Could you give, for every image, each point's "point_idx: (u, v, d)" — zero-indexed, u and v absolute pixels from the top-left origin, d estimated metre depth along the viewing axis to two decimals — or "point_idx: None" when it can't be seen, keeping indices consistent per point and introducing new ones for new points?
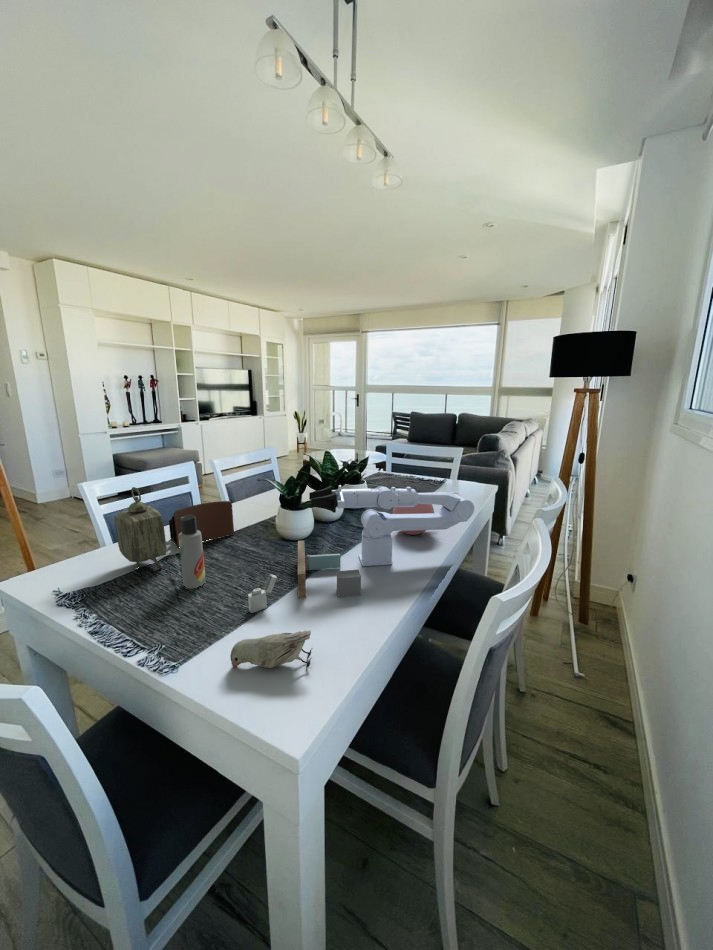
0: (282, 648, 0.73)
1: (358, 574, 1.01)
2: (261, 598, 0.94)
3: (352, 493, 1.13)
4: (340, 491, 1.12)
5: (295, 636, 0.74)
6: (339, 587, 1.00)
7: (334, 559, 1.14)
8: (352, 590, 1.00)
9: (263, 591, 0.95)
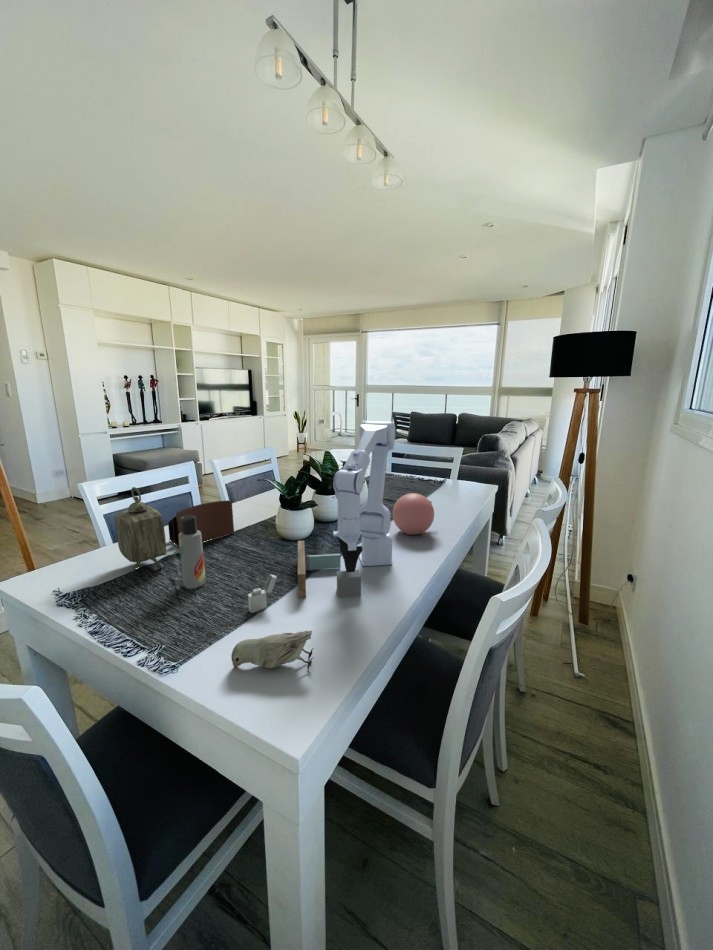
0: (283, 649, 0.73)
1: (358, 574, 1.01)
2: (261, 598, 0.94)
3: (341, 523, 0.96)
4: (339, 536, 0.97)
5: (296, 636, 0.74)
6: (339, 587, 1.00)
7: (334, 559, 1.14)
8: (352, 590, 1.00)
9: (263, 591, 0.95)
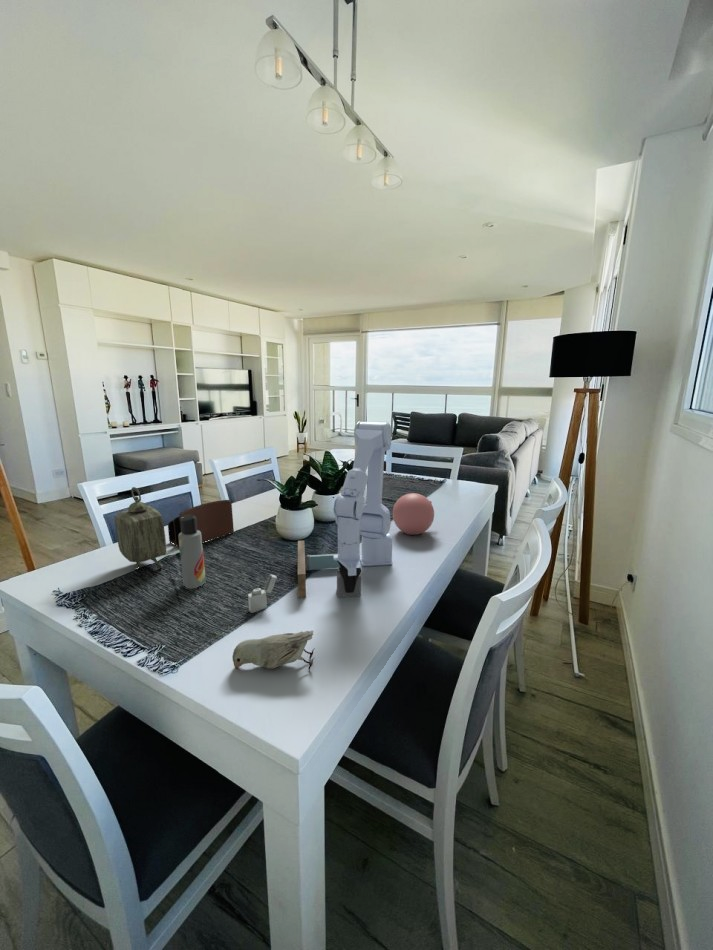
0: (284, 649, 0.73)
1: None
2: (261, 598, 0.94)
3: (342, 548, 0.97)
4: (339, 560, 0.98)
5: (297, 636, 0.74)
6: (339, 587, 1.00)
7: None
8: None
9: (263, 591, 0.95)
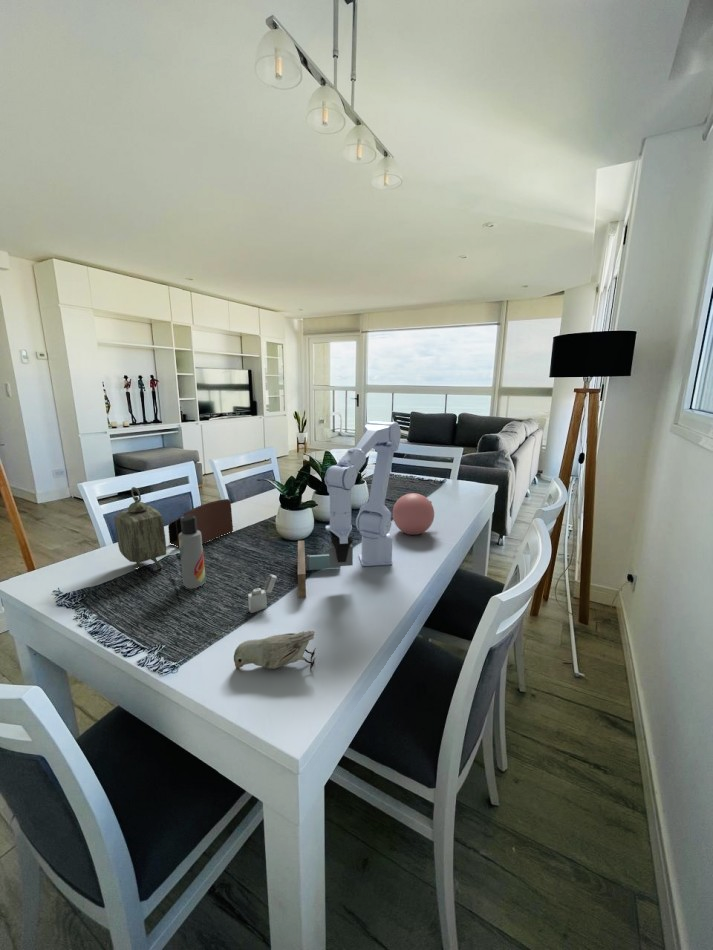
0: (286, 649, 0.72)
1: None
2: (261, 598, 0.94)
3: (333, 517, 0.99)
4: (331, 530, 1.00)
5: (299, 636, 0.74)
6: (331, 557, 1.01)
7: None
8: None
9: (263, 591, 0.95)
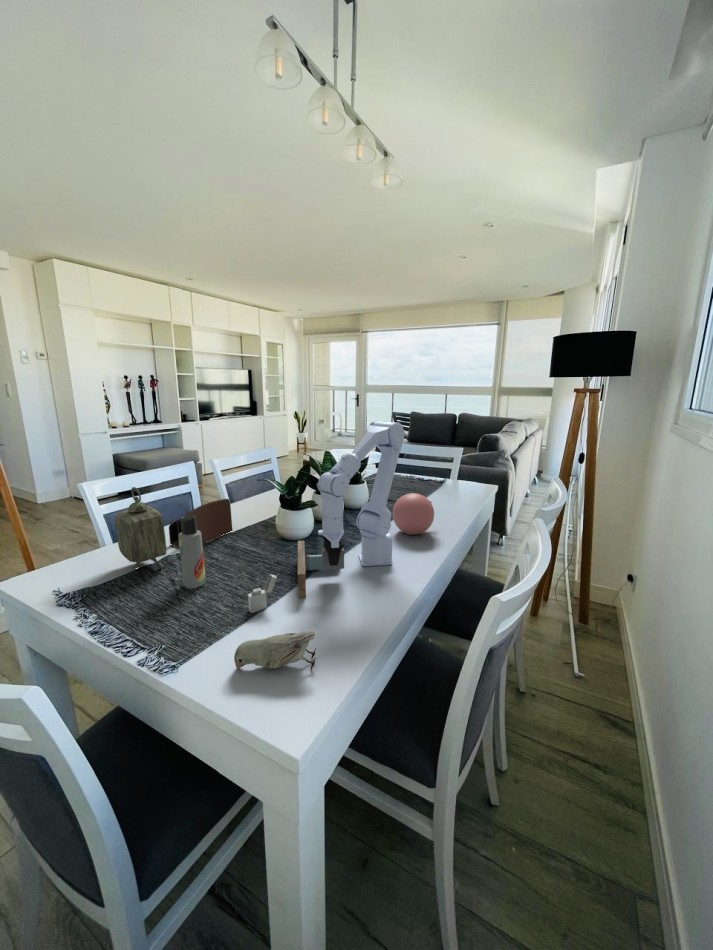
0: (287, 649, 0.72)
1: (342, 548, 1.07)
2: (261, 598, 0.94)
3: (326, 522, 1.03)
4: (323, 535, 1.04)
5: (299, 636, 0.74)
6: (323, 560, 1.05)
7: None
8: None
9: (263, 591, 0.95)
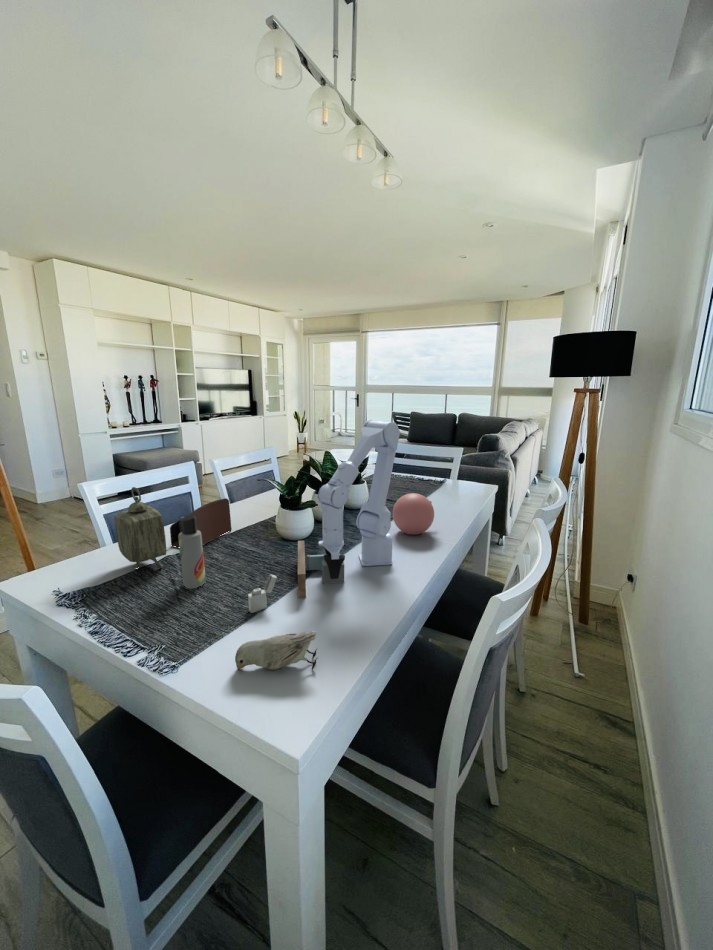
0: (288, 650, 0.72)
1: None
2: (261, 598, 0.94)
3: (326, 534, 1.04)
4: (324, 546, 1.05)
5: (301, 637, 0.74)
6: (324, 574, 1.06)
7: None
8: None
9: (263, 591, 0.95)
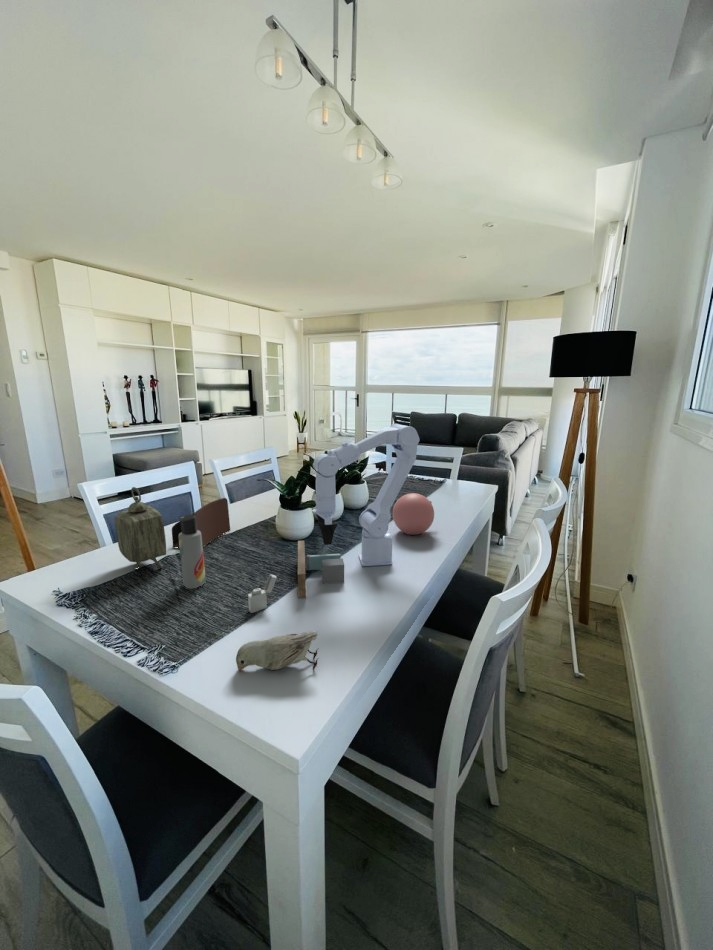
0: (289, 650, 0.72)
1: (342, 562, 1.08)
2: (261, 598, 0.94)
3: (319, 501, 1.09)
4: (317, 513, 1.10)
5: (302, 637, 0.74)
6: (324, 574, 1.06)
7: None
8: (336, 577, 1.07)
9: (263, 591, 0.95)
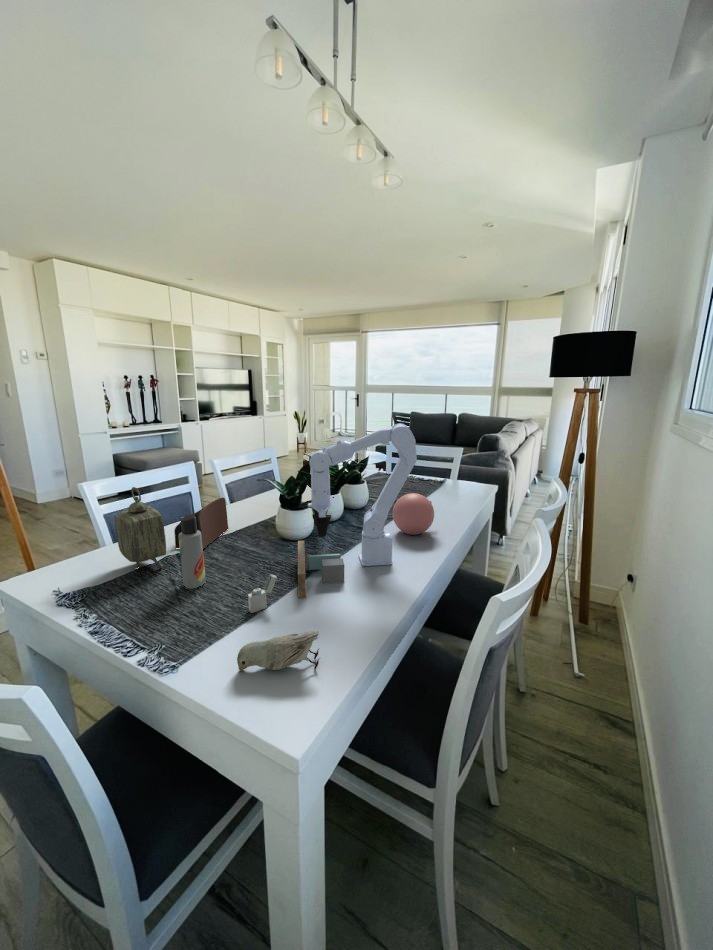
0: (290, 650, 0.72)
1: (342, 562, 1.08)
2: (261, 598, 0.94)
3: (314, 495, 1.15)
4: (312, 507, 1.16)
5: (303, 637, 0.74)
6: (324, 574, 1.06)
7: None
8: (336, 577, 1.07)
9: (263, 591, 0.95)
